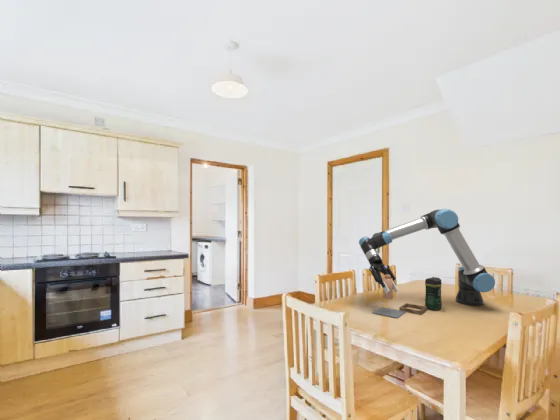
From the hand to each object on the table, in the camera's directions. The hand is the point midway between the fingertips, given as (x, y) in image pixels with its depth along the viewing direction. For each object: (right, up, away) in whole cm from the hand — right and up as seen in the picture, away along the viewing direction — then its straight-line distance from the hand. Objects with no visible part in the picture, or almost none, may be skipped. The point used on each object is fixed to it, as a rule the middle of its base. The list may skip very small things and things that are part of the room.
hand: (392, 291), depth 170 cm
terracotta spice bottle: (-1, -4, +3) cm, 6 cm away
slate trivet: (-1, -13, +3) cm, 13 cm away
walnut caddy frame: (+15, -13, +8) cm, 22 cm away
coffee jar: (+29, -14, +12) cm, 34 cm away
